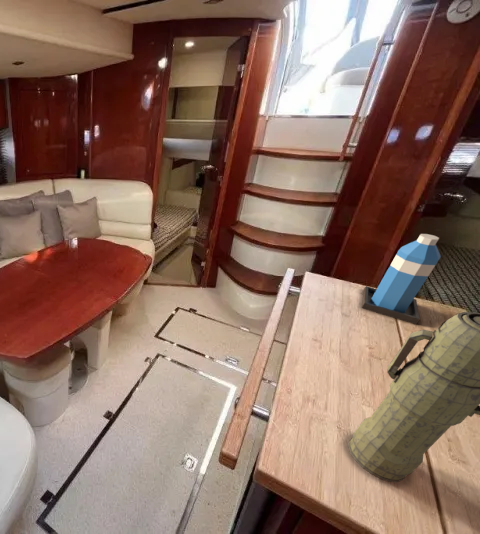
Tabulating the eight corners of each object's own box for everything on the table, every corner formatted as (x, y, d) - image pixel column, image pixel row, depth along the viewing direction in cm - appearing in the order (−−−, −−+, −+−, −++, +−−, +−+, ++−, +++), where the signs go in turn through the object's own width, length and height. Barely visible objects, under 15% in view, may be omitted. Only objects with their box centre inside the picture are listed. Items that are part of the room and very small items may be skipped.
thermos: (339, 424, 67) (427, 293, 49) (413, 459, 60) (545, 323, 43) (336, 456, 61) (435, 322, 43) (418, 499, 54) (573, 361, 37)
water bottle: (367, 293, 107) (403, 228, 95) (403, 301, 103) (445, 233, 91) (373, 308, 100) (412, 239, 88) (411, 316, 96) (458, 246, 84)
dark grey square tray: (413, 304, 102) (416, 299, 101) (416, 324, 94) (419, 319, 93) (363, 290, 110) (365, 285, 109) (361, 308, 101) (364, 303, 100)
